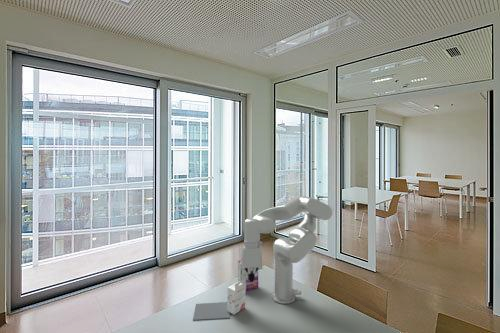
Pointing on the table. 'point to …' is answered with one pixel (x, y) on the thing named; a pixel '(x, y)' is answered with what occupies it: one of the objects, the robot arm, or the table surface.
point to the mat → (211, 311)
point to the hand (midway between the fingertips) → (251, 280)
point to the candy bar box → (244, 275)
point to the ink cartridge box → (236, 297)
